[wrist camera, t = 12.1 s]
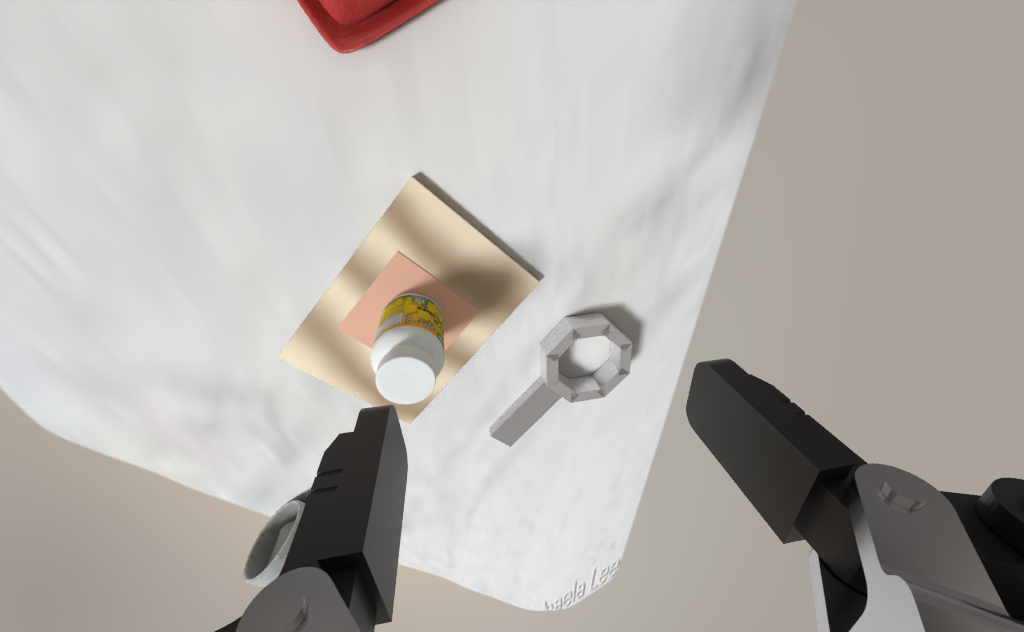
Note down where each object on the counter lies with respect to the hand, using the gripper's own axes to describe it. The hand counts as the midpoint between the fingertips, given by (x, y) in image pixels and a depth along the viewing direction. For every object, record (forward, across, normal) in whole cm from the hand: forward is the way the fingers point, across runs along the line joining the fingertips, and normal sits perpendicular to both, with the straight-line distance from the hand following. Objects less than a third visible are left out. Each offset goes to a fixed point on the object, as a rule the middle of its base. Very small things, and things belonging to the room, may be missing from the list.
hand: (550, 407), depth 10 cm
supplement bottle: (+24, +7, +9) cm, 26 cm away
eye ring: (+24, -6, +19) cm, 32 cm away
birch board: (+24, +7, +9) cm, 27 cm away
